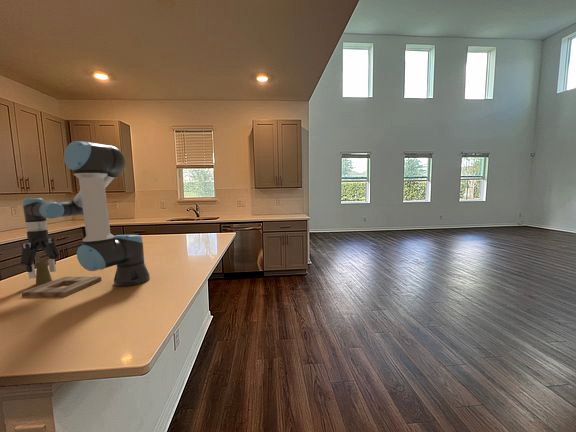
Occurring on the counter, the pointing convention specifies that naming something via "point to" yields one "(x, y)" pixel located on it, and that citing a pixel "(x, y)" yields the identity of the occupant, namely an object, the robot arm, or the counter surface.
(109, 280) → the counter surface
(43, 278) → the olive tapered block
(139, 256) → the robot arm
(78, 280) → the walnut board
